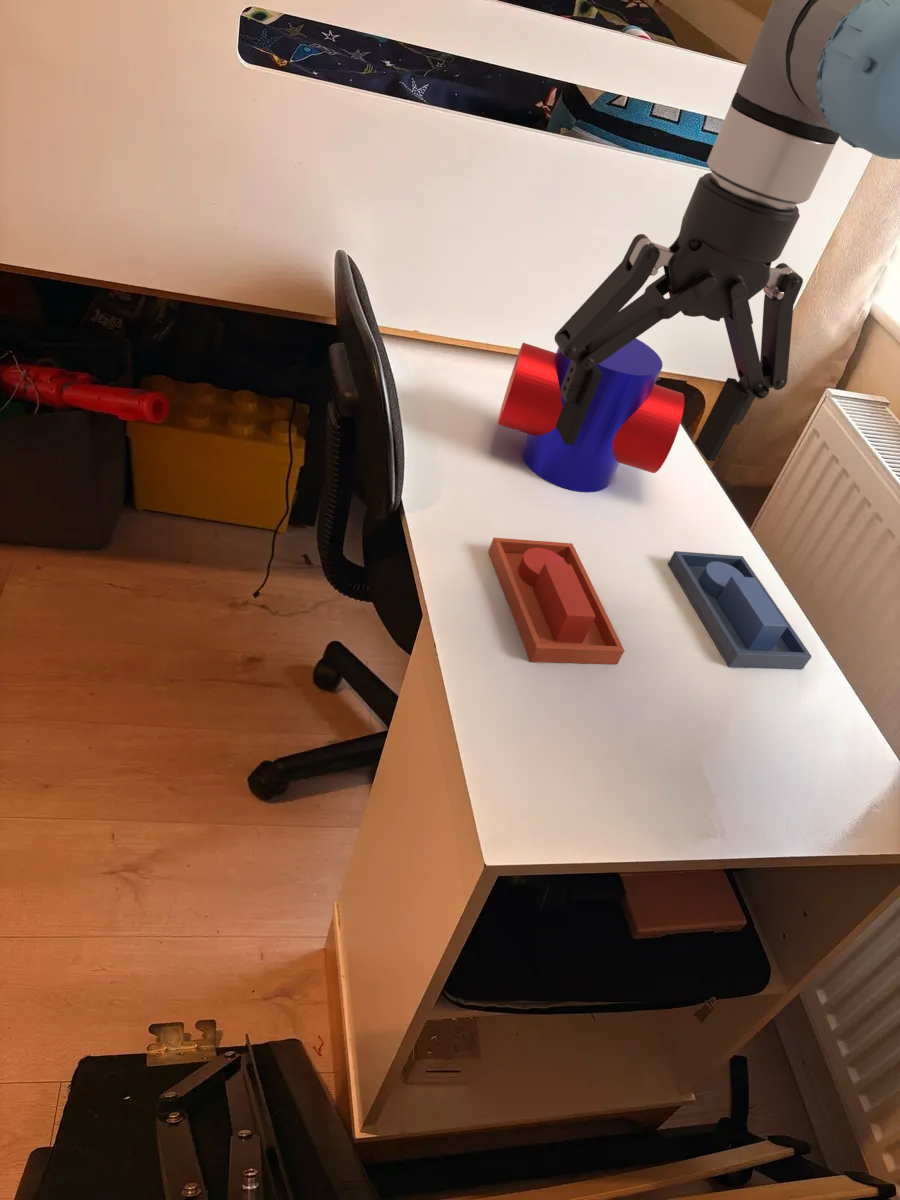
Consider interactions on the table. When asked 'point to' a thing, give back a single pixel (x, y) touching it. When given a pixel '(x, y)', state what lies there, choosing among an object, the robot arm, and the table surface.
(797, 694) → the table surface
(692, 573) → the blue tray
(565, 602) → the red spoon
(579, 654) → the red tray
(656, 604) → the table surface
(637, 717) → the table surface
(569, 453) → the blue red crossed cylinders
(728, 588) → the blue spoon
